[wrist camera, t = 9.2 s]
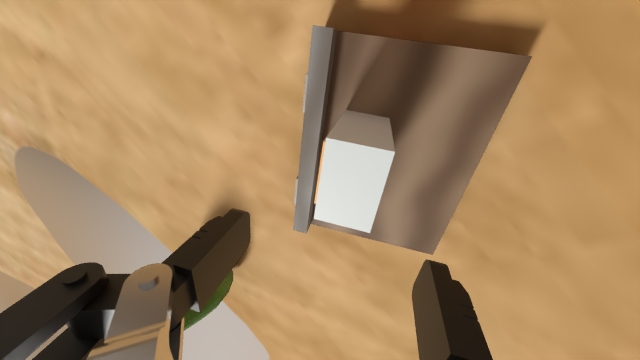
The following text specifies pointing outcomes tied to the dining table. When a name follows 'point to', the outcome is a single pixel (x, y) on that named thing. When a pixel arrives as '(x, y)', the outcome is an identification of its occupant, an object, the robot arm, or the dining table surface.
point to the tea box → (354, 170)
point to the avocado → (209, 302)
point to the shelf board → (405, 124)
